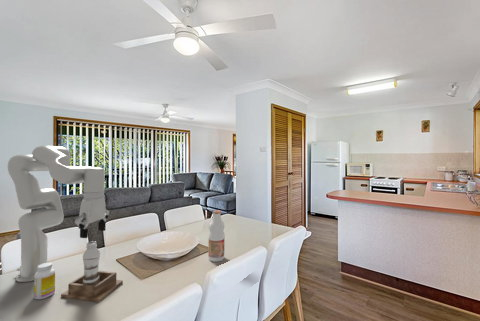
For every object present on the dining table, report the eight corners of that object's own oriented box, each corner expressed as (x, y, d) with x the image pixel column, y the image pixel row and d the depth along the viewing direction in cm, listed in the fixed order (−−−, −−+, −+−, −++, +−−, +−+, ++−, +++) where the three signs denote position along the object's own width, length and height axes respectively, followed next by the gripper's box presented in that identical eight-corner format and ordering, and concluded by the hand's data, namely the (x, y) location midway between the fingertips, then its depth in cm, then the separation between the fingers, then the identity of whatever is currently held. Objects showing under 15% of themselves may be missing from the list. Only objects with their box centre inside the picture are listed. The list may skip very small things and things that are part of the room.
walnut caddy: (60, 297, 92) (61, 284, 92) (89, 279, 106) (89, 268, 106) (98, 302, 89) (98, 289, 89) (122, 283, 103) (122, 272, 103)
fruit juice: (205, 257, 131) (206, 210, 131) (219, 253, 136) (220, 208, 136) (212, 263, 123) (213, 213, 123) (227, 259, 128) (227, 211, 128)
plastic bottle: (96, 282, 101) (97, 238, 101) (102, 287, 97) (102, 242, 97) (80, 288, 96) (80, 242, 96) (84, 294, 92) (85, 246, 92)
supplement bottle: (59, 290, 97) (59, 261, 97) (46, 299, 90) (46, 268, 90) (43, 290, 96) (43, 261, 96) (29, 300, 90) (29, 268, 90)
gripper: (102, 192, 106) (101, 227, 107) (68, 198, 89) (67, 240, 90) (115, 193, 105) (114, 228, 105) (84, 199, 88) (83, 241, 88)
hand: (93, 233), depth 97 cm, fingers open, 9 cm apart
